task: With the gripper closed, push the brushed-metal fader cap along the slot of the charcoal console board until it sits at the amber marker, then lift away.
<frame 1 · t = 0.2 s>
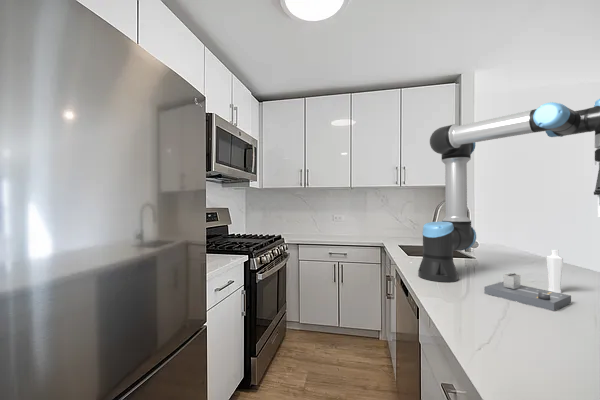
perfume bottle: (555, 292, 104), on the countertop
console: (525, 298, 96), on the countertop
fader: (512, 280, 99), point 5 cm above the countertop, slide at 0.0 cm
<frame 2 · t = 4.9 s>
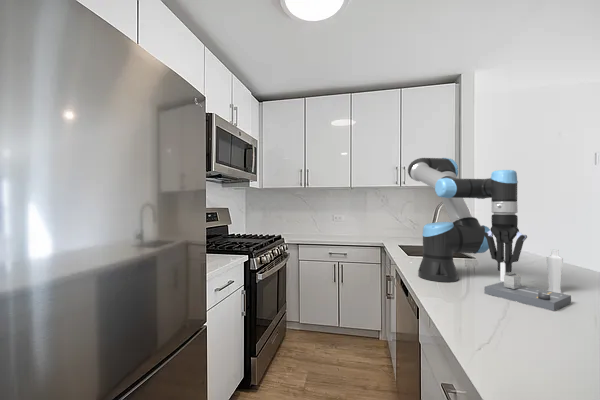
hand: (504, 281, 101), 4 cm above the countertop, fingers closed
fader: (512, 280, 99), point 5 cm above the countertop, slide at 0.1 cm, touching gripper
everything else where it was.
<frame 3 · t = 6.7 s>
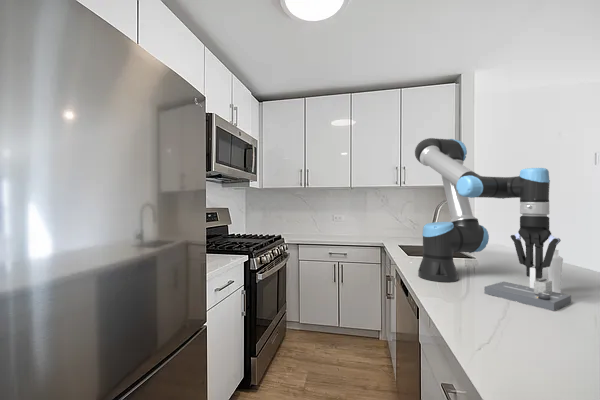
hand: (534, 287, 94), 4 cm above the countertop, fingers closed
fader: (542, 286, 92), point 5 cm above the countertop, slide at 8.6 cm, touching gripper
everything else where it was.
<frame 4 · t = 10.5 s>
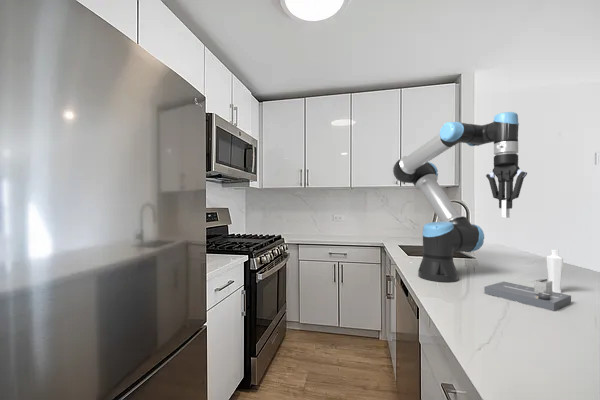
hand: (505, 217, 108), 26 cm above the countertop, fingers closed
fader: (543, 286, 92), point 5 cm above the countertop, slide at 8.7 cm
everything else where it was.
at the end: fader slide at 8.7 cm; fader touching nothing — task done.
